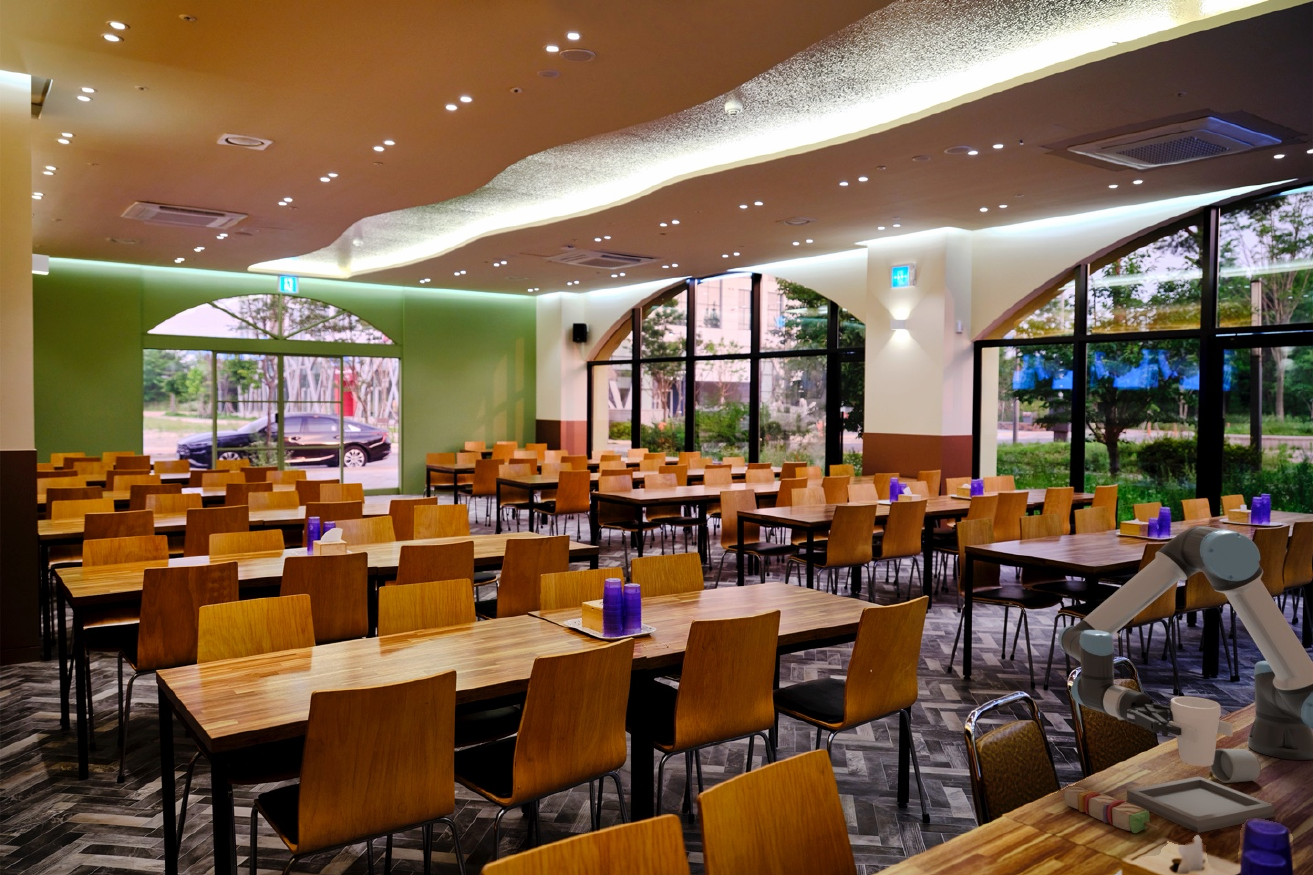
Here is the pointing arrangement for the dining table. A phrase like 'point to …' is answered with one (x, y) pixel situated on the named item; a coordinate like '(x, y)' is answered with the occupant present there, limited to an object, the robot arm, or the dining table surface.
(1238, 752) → the ceramic mug
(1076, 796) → the skewer
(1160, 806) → the cafeteria tray
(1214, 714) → the foam cup
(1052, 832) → the dining table surface
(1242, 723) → the dining table surface
